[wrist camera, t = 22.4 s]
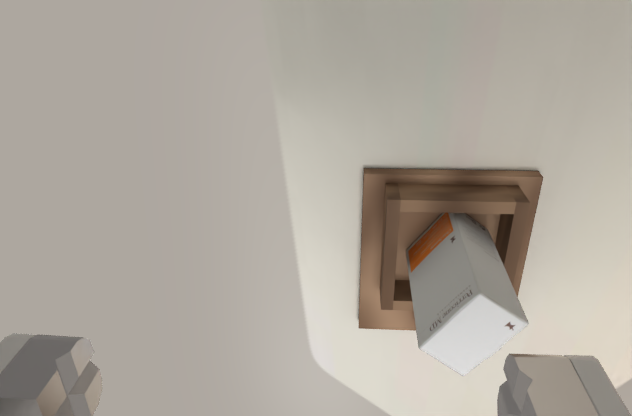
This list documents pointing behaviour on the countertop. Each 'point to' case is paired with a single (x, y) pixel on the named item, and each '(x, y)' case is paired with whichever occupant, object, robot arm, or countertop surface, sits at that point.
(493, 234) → the organiser tray
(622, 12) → the countertop surface
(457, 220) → the skincare box
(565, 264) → the countertop surface
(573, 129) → the countertop surface
